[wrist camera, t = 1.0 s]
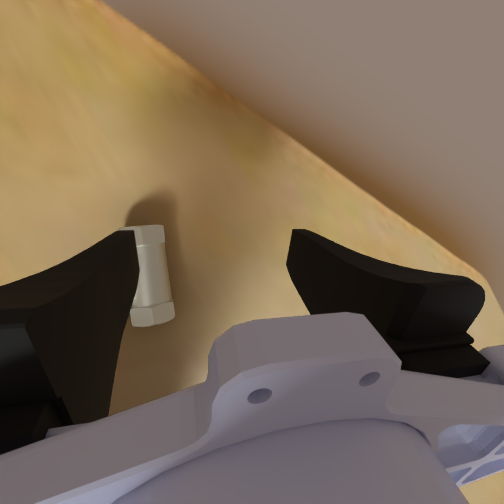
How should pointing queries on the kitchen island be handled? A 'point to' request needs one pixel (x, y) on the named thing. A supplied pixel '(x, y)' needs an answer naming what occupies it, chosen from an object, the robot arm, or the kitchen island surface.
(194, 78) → the kitchen island surface
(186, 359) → the kitchen island surface
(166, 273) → the pipe fitting
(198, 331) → the kitchen island surface
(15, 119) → the kitchen island surface
